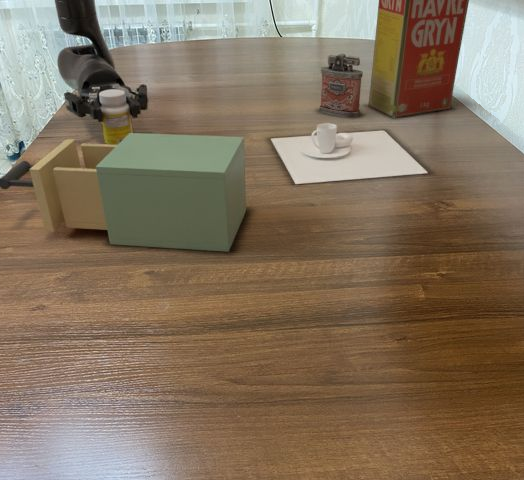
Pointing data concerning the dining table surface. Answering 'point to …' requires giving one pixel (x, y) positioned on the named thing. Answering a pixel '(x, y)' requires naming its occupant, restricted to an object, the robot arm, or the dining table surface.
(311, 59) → the dining table surface
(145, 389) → the dining table surface
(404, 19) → the food packaging
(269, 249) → the dining table surface
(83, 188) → the drawer
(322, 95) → the lighter
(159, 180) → the cabinet
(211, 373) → the dining table surface
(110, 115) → the supplement bottle
